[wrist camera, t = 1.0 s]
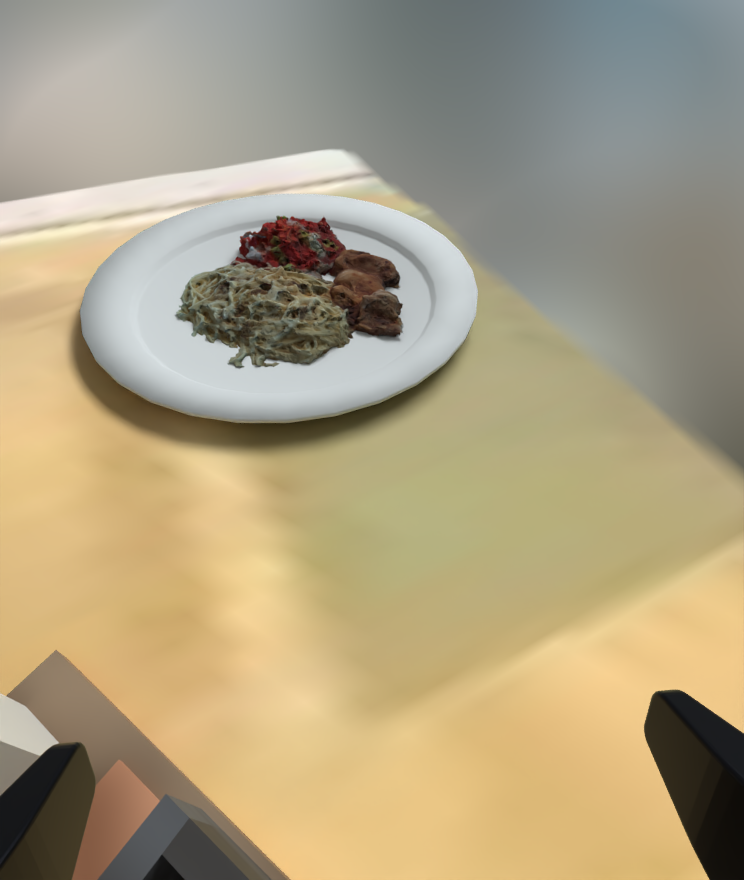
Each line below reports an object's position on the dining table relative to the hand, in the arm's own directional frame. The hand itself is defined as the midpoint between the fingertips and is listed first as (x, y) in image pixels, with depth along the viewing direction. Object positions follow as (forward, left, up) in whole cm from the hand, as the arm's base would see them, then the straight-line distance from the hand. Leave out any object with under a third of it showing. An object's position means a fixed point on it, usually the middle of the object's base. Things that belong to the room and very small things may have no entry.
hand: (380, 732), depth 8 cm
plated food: (+24, +25, -15) cm, 38 cm away
